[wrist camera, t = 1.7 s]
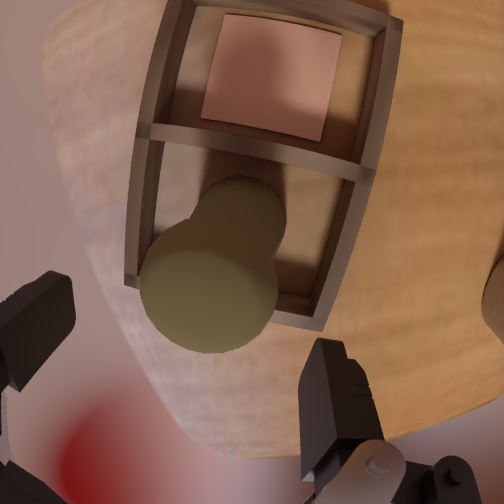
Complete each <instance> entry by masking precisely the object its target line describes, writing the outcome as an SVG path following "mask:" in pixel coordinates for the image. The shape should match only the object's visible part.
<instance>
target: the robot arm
mask: <svg viewBox="0 0 504 504" xmlns="http://www.w3.org/2000/svg"><path fill="white" fill-rule="evenodd" d="M482 312H483V317H484V320H485V322H486V323H487V325H488V326H489V327H490V328H491V330H492V331H493V332H494V333H495V334H496V336H497V337H498V338H499V339H500V341H501V342H502V343H503V344H504V256H503V257H502V258H501V260H500V261H499V263H498V264H497V266H496V267H495V269H494V270H493V272H492V274H491V276H490V278H489V281H488V284H487V286H486V289H485V293H484V297H483V304H482ZM75 320H76V312H75V306H74V297H73V289H72V281H71V279H70V278H69V276H66V275H63V274H61V273H58V272H55V271H52V270H50V271H48V272H46V273H45V274H43V275H42V276H41V277H39V278H38V279H37V280H35V281H33V282H31V283H28V284H26V285H24V286H22V287H21V288H19V289H18V290H17V291H15V292H14V294H13V295H10V296H9V297H8V298H6V301H3V302H1V303H0V504H68V503H67V502H65V501H64V500H63V499H62V498H61V497H59V496H58V495H57V494H56V493H55V492H54V491H53V490H52V489H50V488H49V487H48V486H47V485H46V484H45V483H44V482H43V481H41V480H39V479H38V478H36V477H34V476H33V475H31V474H30V473H28V472H27V471H25V470H24V469H22V468H21V467H19V466H18V465H17V464H16V460H15V458H14V455H13V453H12V451H11V449H10V446H9V440H8V426H7V395H6V392H5V388H6V387H7V385H9V386H11V387H12V388H14V389H15V390H17V391H18V392H21V390H22V389H23V388H24V387H25V385H26V384H27V383H28V382H29V380H30V379H31V378H32V377H33V375H34V374H35V373H36V372H37V371H38V370H39V368H40V367H41V366H42V365H43V364H44V362H45V361H46V360H47V359H48V358H49V356H50V355H51V354H52V353H53V352H54V351H55V349H56V348H57V347H58V346H59V345H60V344H61V343H62V341H63V340H64V339H65V338H66V337H67V336H68V335H69V334H70V332H71V331H72V330H73V328H74V325H75ZM298 400H299V421H300V446H301V480H302V481H314V484H315V491H314V492H313V493H312V494H311V495H310V496H309V497H308V499H307V500H306V501H305V502H304V503H303V504H482V502H481V498H480V494H479V491H478V488H477V484H476V480H475V477H474V474H473V471H472V469H471V467H470V466H469V464H468V463H467V462H466V461H465V460H463V459H462V458H460V457H457V456H446V457H444V458H442V459H441V460H439V461H438V462H437V463H436V464H435V465H434V466H429V465H423V464H418V463H413V462H409V461H405V459H404V456H403V455H402V453H401V452H400V450H399V449H398V448H396V447H395V446H393V445H392V444H391V443H389V442H386V441H385V439H384V436H383V432H382V428H381V425H380V421H379V417H378V414H377V410H376V407H375V403H374V400H373V399H372V393H371V390H370V388H369V383H368V380H367V377H366V374H365V371H364V370H363V369H362V367H361V366H360V365H359V364H358V362H357V361H356V360H355V359H348V358H347V354H346V350H345V347H344V344H343V342H342V341H338V340H331V339H324V338H317V339H316V341H315V342H314V345H313V347H312V350H311V352H310V355H309V357H308V359H307V362H306V364H305V366H304V369H303V371H302V373H301V376H300V380H299V386H298Z"/></svg>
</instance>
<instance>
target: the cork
mask: <svg viewBox="0 0 504 504" xmlns="http://www.w3.org/2000/svg"><path fill="white" fill-rule="evenodd" d="M285 227H286V215H285V208H284V206H283V204H282V202H281V200H280V198H279V196H278V195H277V194H276V192H275V191H274V190H273V189H272V188H271V187H270V186H269V185H267V184H266V183H264V182H262V181H260V180H258V179H256V178H253V177H247V176H241V175H240V176H233V177H227V178H224V179H222V180H220V181H218V182H216V183H214V184H213V185H212V186H211V187H210V188H209V189H208V190H207V191H206V192H205V193H204V194H203V196H202V197H201V199H200V201H199V203H198V204H197V206H196V208H195V210H194V211H193V213H192V215H191V217H190V218H189V219H185V220H183V221H181V222H180V223H178V224H176V225H174V226H172V227H170V228H168V229H167V230H166V231H164V232H163V233H162V234H161V235H160V236H159V237H158V238H157V239H156V241H155V242H154V243H153V244H152V245H151V246H150V248H149V249H148V251H147V254H146V256H145V259H144V262H143V265H142V267H141V270H140V273H139V282H140V296H141V300H142V303H143V305H144V308H145V311H146V314H147V316H148V317H149V319H150V320H151V322H152V323H153V324H154V326H155V327H156V329H157V330H158V331H159V332H161V333H162V334H163V335H164V336H165V337H167V338H168V339H169V340H170V341H172V342H174V343H175V344H177V345H179V346H181V347H183V348H185V349H188V350H192V351H196V352H201V353H224V352H227V351H230V350H234V349H237V348H240V347H242V346H244V345H245V344H247V343H248V342H250V341H251V340H252V339H254V338H255V337H257V336H258V335H259V334H260V333H261V332H262V330H263V329H264V327H265V326H266V324H267V323H268V321H269V320H270V318H271V316H272V315H273V313H274V309H275V305H276V301H277V297H278V281H277V273H276V266H275V264H274V262H273V259H274V257H275V255H276V253H277V250H278V248H279V246H280V243H281V241H282V239H283V236H284V232H285Z"/></svg>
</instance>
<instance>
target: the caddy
mask: <svg viewBox="0 0 504 504" xmlns="http://www.w3.org/2000/svg"><path fill="white" fill-rule="evenodd" d="M196 6H215V7H230V8H241V9H251V10H259V11H266V12H273V13H279V14H284V15H290V16H295V17H300V18H305V19H309V20H313V21H318V22H322V23H326V24H329V25H333V26H337V27H340V28H344V29H347V30H350V31H353V32H357V33H360V34H363V35H366V36H369V37H371V38H374V39H375V42H374V48H373V55H372V60H371V66H370V72H369V77H368V83H367V88H366V93H365V98H364V103H363V108H362V112H361V117H360V122H359V126H358V131H357V135H356V139H355V144H354V148H353V152H352V156H351V160H350V162H349V161H346V160H342V159H339V158H335V157H332V156H328V155H324V154H321V153H317V152H313V151H309V150H305V149H301V148H297V147H293V146H288V145H284V144H280V143H275V142H271V141H266V140H261V139H256V138H251V137H246V136H241V135H235V134H230V133H224V132H218V131H212V130H205V129H199V128H192V127H184V126H176V125H168V120H169V115H170V109H171V104H172V99H173V95H174V90H175V85H176V81H177V77H178V72H179V68H180V64H181V60H182V56H183V52H184V48H185V44H186V41H187V37H188V33H189V30H190V26H191V23H192V19H193V16H194V13H195V9H196ZM402 30H403V20H401V19H398V18H396V17H393V16H391V15H388V14H386V13H383V12H380V11H378V10H375V9H372V8H369V7H366V6H363V5H360V4H357V3H354V2H351V1H347V0H168V2H167V5H166V8H165V11H164V14H163V17H162V20H161V24H160V27H159V30H158V34H157V37H156V41H155V44H154V48H153V52H152V56H151V60H150V64H149V68H148V72H147V77H146V81H145V86H144V90H143V95H142V100H141V105H140V111H139V116H138V122H137V128H136V134H135V141H134V148H133V155H132V163H131V171H130V181H129V191H128V202H127V216H126V233H125V263H124V285H126V286H129V287H133V288H136V289H140V282H139V273H140V270H141V267H142V265H143V262H144V259H145V256H146V254H147V251H148V249H149V248H150V246H151V245H152V241H153V229H154V219H155V209H156V200H157V192H158V184H159V176H160V169H161V162H162V155H163V149H164V143H165V142H173V143H180V144H187V145H193V146H199V147H205V148H211V149H217V150H223V151H228V152H233V153H239V154H244V155H249V156H254V157H258V158H263V159H268V160H272V161H277V162H281V163H285V164H290V165H294V166H298V167H302V168H306V169H310V170H314V171H318V172H322V173H325V174H329V175H333V176H336V177H340V178H344V179H346V180H345V184H344V187H343V191H342V195H341V198H340V202H339V206H338V209H337V213H336V216H335V220H334V223H333V227H332V230H331V234H330V237H329V240H328V244H327V247H326V250H325V253H324V257H323V260H322V263H321V266H320V269H319V272H318V275H317V278H316V281H315V285H314V288H313V291H312V294H311V296H310V299H309V298H304V297H300V296H295V295H290V294H286V293H281V292H278V297H277V301H276V305H275V309H274V313H273V315H272V316H271V318H270V320H269V321H268V322H273V323H277V324H282V325H287V326H292V327H297V328H303V329H308V330H313V331H319V332H322V331H323V329H324V326H325V324H326V321H327V319H328V316H329V314H330V311H331V309H332V306H333V303H334V301H335V298H336V295H337V293H338V290H339V287H340V285H341V282H342V279H343V276H344V273H345V271H346V268H347V265H348V262H349V259H350V256H351V253H352V250H353V247H354V244H355V241H356V238H357V235H358V232H359V228H360V225H361V222H362V219H363V215H364V212H365V209H366V205H367V202H368V198H369V195H370V191H371V188H372V184H373V180H374V176H375V173H376V169H377V165H378V161H379V157H380V153H381V149H382V144H383V140H384V136H385V131H386V127H387V122H388V117H389V112H390V107H391V102H392V97H393V92H394V86H395V80H396V74H397V68H398V61H399V54H400V47H401V39H402ZM341 40H342V36H341V35H338V34H334V33H331V32H327V31H323V30H319V29H315V28H311V27H307V26H302V25H297V24H292V23H287V22H282V21H276V20H270V19H263V18H256V17H248V16H239V15H228V14H225V17H224V20H223V24H222V28H221V31H220V35H219V39H218V43H217V46H216V50H215V54H214V58H213V63H212V67H211V71H210V75H209V79H208V84H207V88H206V93H205V98H204V102H203V107H202V112H201V117H200V118H203V119H210V120H217V121H223V122H229V123H235V124H241V125H246V126H252V127H257V128H262V129H267V130H271V131H276V132H281V133H285V134H289V135H294V136H298V137H302V138H306V139H310V140H314V141H318V142H320V140H321V135H322V131H323V127H324V122H325V118H326V113H327V109H328V104H329V99H330V95H331V90H332V85H333V80H334V75H335V70H336V66H337V60H338V55H339V50H340V45H341Z"/></svg>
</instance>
